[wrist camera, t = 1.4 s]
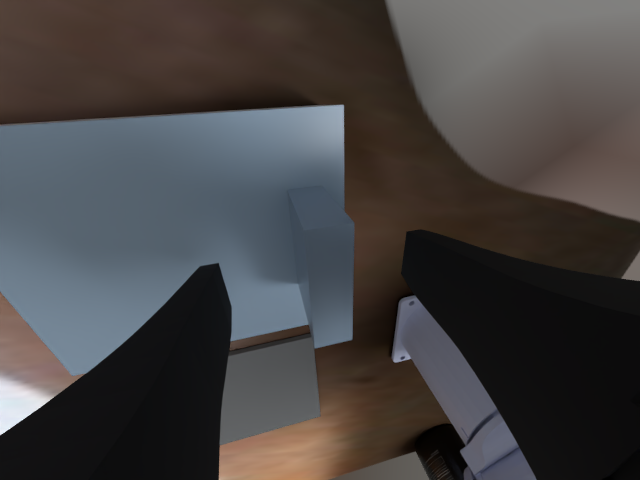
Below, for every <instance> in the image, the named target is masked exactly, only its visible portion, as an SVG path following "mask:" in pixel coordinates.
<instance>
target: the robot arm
mask: <svg viewBox="0 0 640 480" xmlns="http://www.w3.org/2000/svg"><path fill="white" fill-rule="evenodd" d="M401 274H402V276H403V277H404V279H405V281H406V283H407V284H408V286H409V287H410V289H411V291H412V292H413V294H414V296H409V297H405V298H402V299H401V300H400V301H399V305H398V313H397V320H396V328H395V336H394V343H393V351H392V360H393V361H394V362H400V361H404V360H408V359H412V361H413V362H414V364H415V365H416V367H417V369H418V370H419V372H420V373H421V375H422V377H423V378H424V380H425V381H426V383H427V384H428V386H429V388H430V389H431V391H432V392H433V394H434V396H435V397H436V399H437V400H438V402H439V404H440V405H441V407H442V408H443V410H444V412H445V413H446V415H447V416H448V418H449V420H450V421H451V423H452V424H453V426H454V428H455V429H456V431H457V432H458V434H459V436H460V437H461V439H462V440H463V442H464V444H465V445H466V446H465V447H464V448H463V449H461V450H460V453H461V454H462V456H463V458H464V459H465V461H466V463H467V464H468V467H466V469H465V470H464V480H640V281H634V280H626V279H619V278H613V277H606V276H600V275H594V274H588V273H582V272H577V271H571V270H566V269H561V268H556V267H551V266H547V265H543V264H538V263H534V262H530V261H525V260H522V259H518V258H514V257H510V256H507V255H503V254H500V253H496V252H493V251H490V250H486V249H483V248H480V247H477V246H474V245H471V244H468V243H465V242H462V241H459V240H455V239H452V238H449V237H446V236H443V235H440V234H437V233H433V232H430V231H425V230H414V231H408V232H407V233H406V241H405V248H404V256H403V264H402V271H401ZM231 333H232V306H231V303H230V299H229V296H228V292H227V289H226V286H225V282H224V279H223V276H222V272H221V269H220V266H219V263H215V264H209V265H203V266H200V267H199V268H198V269H197V270H196V271H195V272H194V273H193V274H192V275H191V276H190V277H189V278H188V279H187V281H186V282H185V283H184V284H183V285H182V286H181V287H180V288H179V289H178V290H177V291H176V292H175V293H174V294H173V296H172V297H171V298H170V299H169V300H168V301H167V302H166V303H165V304H164V305H163V306H162V307H161V308H160V309H159V310H158V311H157V312H156V313H155V314H154V315H153V316H152V317H151V318H150V319H149V320H148V321H147V322H145V323H144V324H143V325H142V326H141V327H140V328H139V329H138V330H137V331H136V332H135V333H134V334H133V335H132V336H131V337H130V338H128V339H127V340H126V341H125V342H124V343H123V344H122V345H120V346H119V347H118V348H117V349H116V350H114V351H113V352H112V353H111V354H110V355H108V356H107V357H106V358H105V359H104V360H102V361H101V362H100V363H99V364H98V365H96V366H95V367H94V368H92V369H91V370H90V371H89V372H87V373H86V374H85V375H83V376H82V377H81V378H79V379H78V380H77V381H75V382H74V383H73V384H71V385H70V386H69V387H67V388H66V389H65V390H63V391H62V392H61V393H59V394H58V395H57V396H55V397H54V398H53V399H51V400H50V401H49V402H47V403H46V404H45V405H43V406H42V407H41V408H39V409H38V410H36V411H35V412H34V413H32V414H31V415H29V416H28V417H26V418H25V419H23V420H22V421H21V422H19V423H18V424H16V425H15V426H13V427H12V428H10V429H9V430H8V431H6V432H5V433H3V434H2V435H0V480H219V448H220V425H221V409H222V399H223V391H224V384H225V377H226V370H227V363H228V356H229V348H230V341H231Z"/></svg>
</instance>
